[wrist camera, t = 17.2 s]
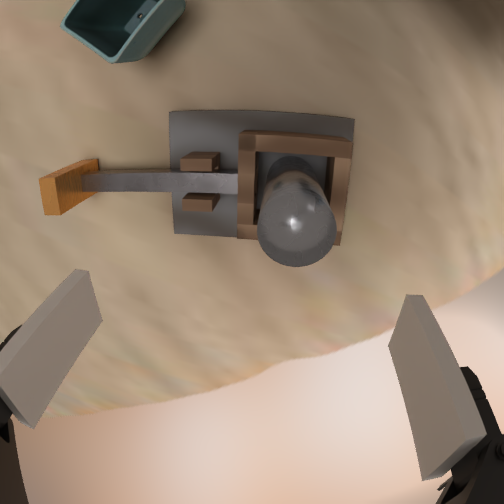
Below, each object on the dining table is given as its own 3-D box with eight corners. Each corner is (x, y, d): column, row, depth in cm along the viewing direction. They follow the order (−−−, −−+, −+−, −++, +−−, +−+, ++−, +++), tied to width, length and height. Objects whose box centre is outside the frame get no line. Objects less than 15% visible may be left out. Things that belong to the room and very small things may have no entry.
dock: (172, 111, 31) (152, 114, 26) (352, 118, 29) (365, 122, 24) (177, 229, 37) (161, 251, 32) (337, 239, 36) (346, 264, 31)
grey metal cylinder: (267, 154, 31) (258, 190, 18) (316, 157, 31) (341, 196, 18) (265, 200, 33) (255, 264, 21) (312, 203, 33) (330, 269, 20)
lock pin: (82, 160, 34) (38, 178, 26) (245, 156, 32) (233, 175, 24) (85, 190, 35) (44, 215, 28) (244, 192, 34) (232, 221, 26)
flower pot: (102, 36, 27) (56, 26, 19) (149, -21, 23) (112, -47, 15) (152, 71, 29) (112, 65, 21) (204, 11, 25) (178, -15, 17)
